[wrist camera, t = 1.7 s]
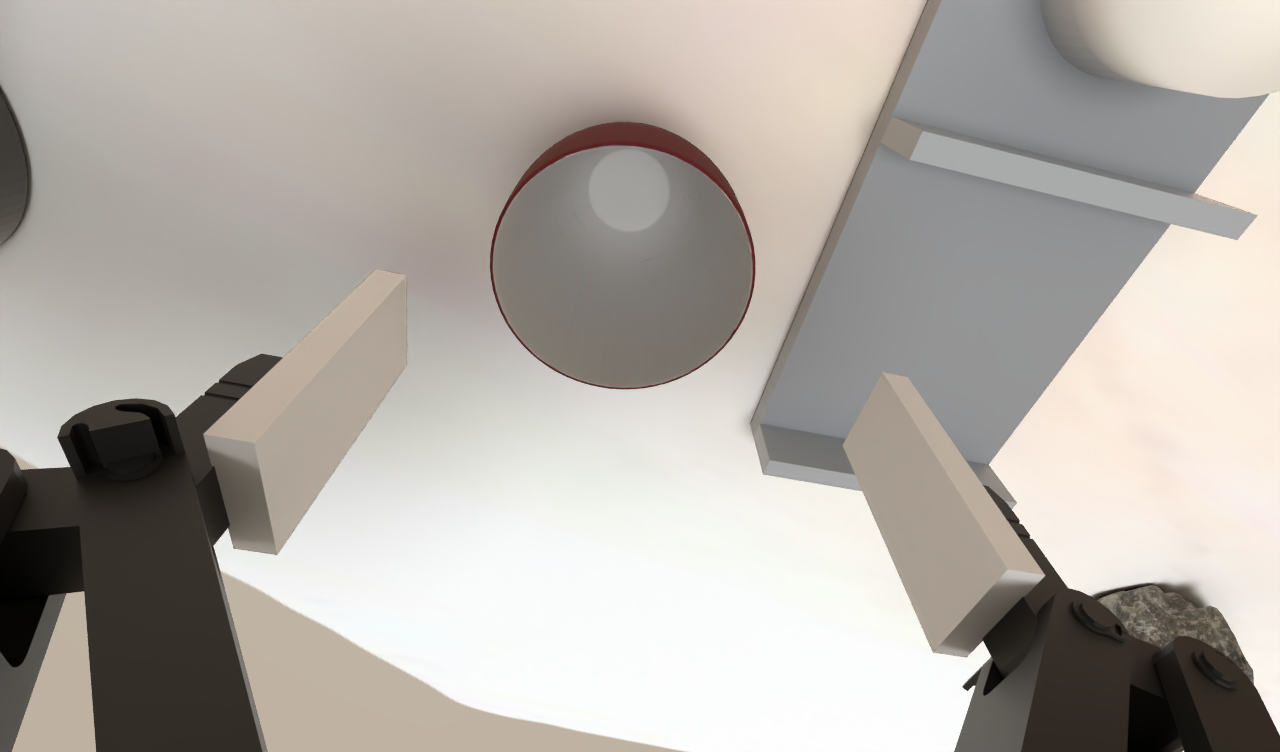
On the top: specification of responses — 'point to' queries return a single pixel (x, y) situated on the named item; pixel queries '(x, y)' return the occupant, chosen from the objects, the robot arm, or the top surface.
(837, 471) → the rack
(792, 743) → the top surface
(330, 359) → the robot arm
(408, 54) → the top surface
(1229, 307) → the top surface
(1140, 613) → the stone
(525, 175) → the red cup
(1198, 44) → the white egg shape
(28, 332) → the top surface
